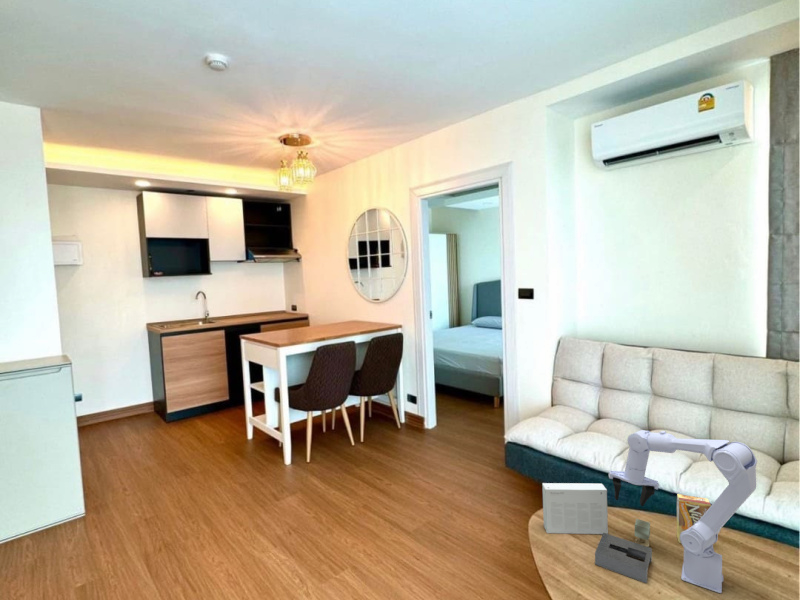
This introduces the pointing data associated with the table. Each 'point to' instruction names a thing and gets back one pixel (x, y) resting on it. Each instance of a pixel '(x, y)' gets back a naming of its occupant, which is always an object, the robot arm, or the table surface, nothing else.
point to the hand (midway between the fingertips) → (628, 501)
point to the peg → (642, 532)
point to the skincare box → (575, 508)
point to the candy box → (689, 511)
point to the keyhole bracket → (623, 557)
